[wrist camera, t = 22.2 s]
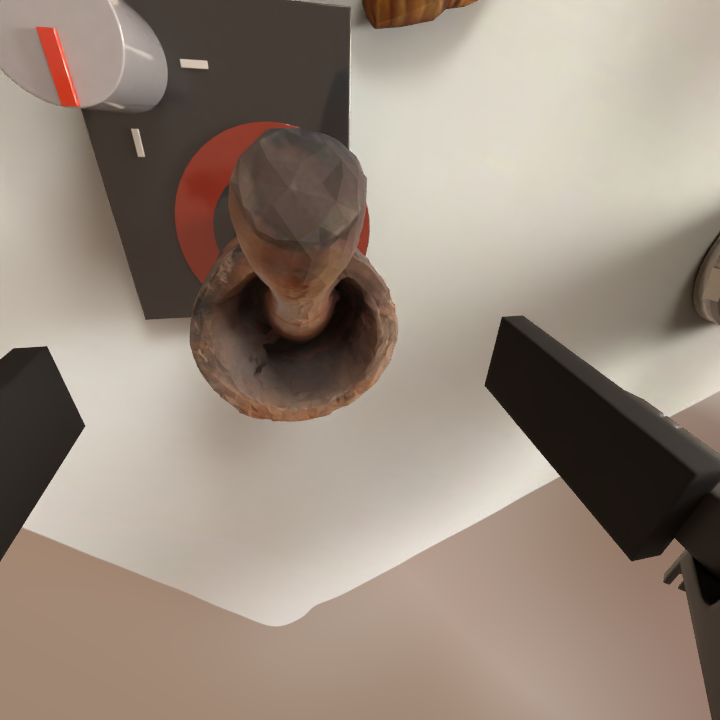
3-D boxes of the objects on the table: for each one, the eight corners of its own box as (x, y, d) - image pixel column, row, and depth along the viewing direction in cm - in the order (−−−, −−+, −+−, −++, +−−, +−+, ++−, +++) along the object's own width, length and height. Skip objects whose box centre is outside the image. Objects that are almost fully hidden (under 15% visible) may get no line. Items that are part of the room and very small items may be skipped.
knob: (46, -9, 18) (-81, -88, 11) (155, 1, 19) (96, -66, 12) (83, 112, 20) (-3, 104, 14) (177, 115, 21) (138, 110, 15)
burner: (373, 125, 23) (374, 125, 23) (365, 312, 30) (366, 314, 30) (151, 117, 21) (149, 116, 21) (197, 322, 28) (197, 324, 28)
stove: (343, -17, 22) (352, -34, 19) (342, 296, 32) (347, 308, 30) (5, -57, 18) (-31, -82, 16) (125, 307, 28) (114, 322, 26)
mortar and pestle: (167, 169, 22) (-124, 294, 6) (299, 113, 22) (400, 72, 6) (259, 326, 29) (250, 596, 12) (361, 283, 29) (492, 495, 12)
